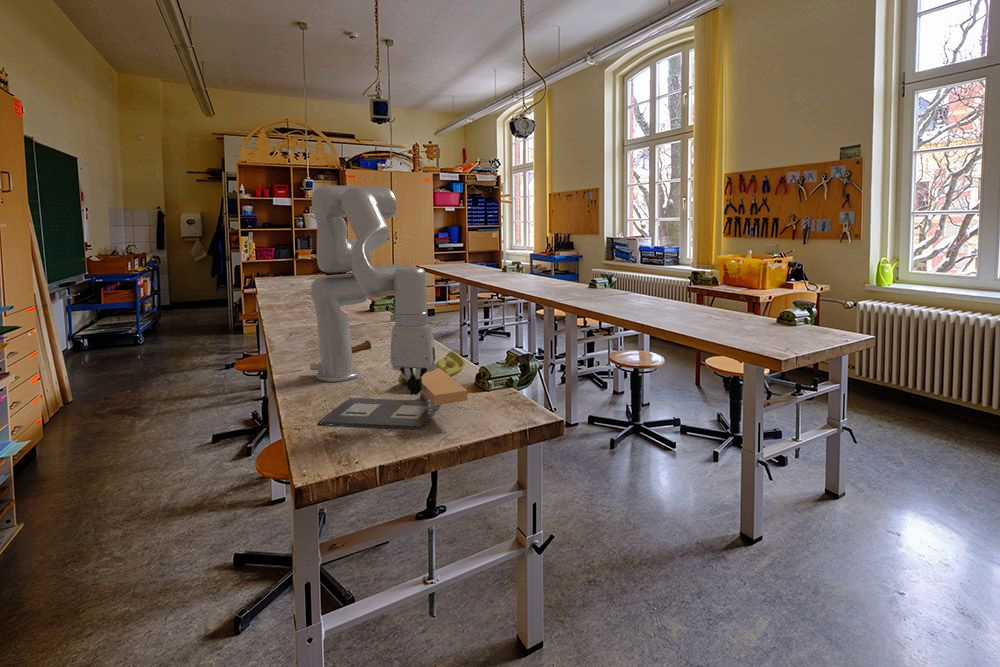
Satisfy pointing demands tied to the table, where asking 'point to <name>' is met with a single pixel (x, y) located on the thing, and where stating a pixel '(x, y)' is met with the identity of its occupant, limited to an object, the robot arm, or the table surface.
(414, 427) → the label plate
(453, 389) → the orange rectangular block
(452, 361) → the plastic component
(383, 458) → the table surface
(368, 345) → the primitive tool
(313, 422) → the table surface
